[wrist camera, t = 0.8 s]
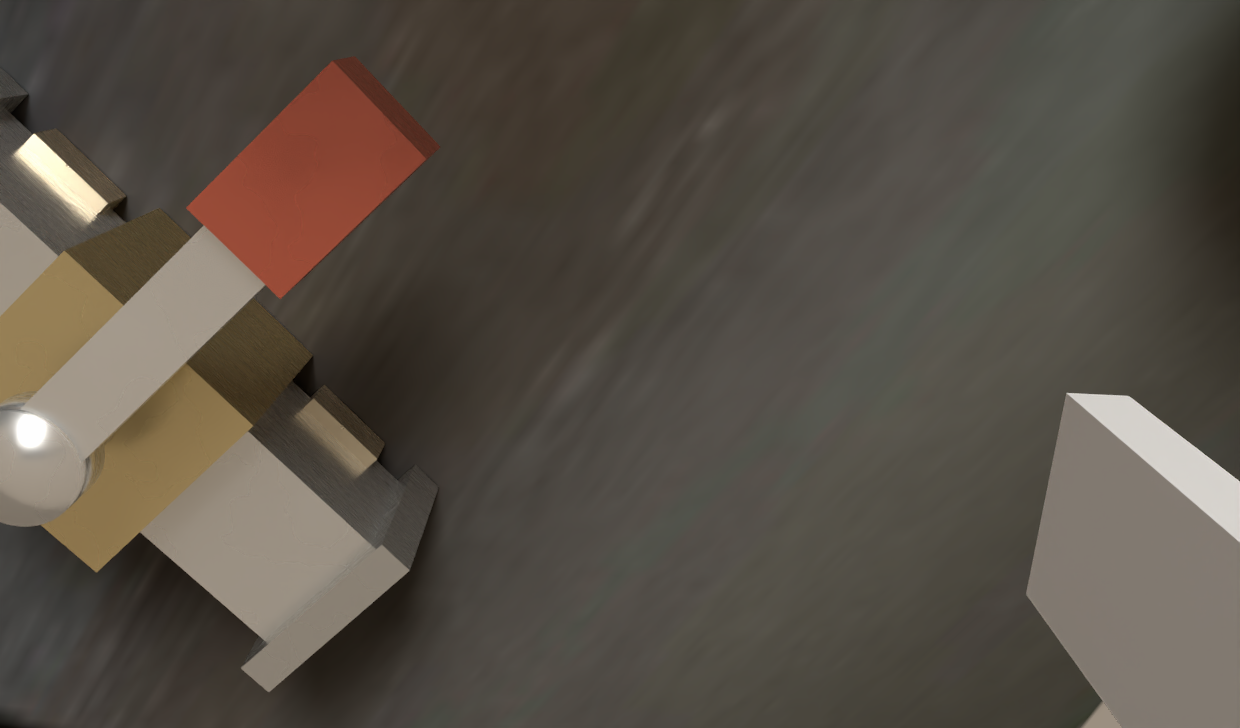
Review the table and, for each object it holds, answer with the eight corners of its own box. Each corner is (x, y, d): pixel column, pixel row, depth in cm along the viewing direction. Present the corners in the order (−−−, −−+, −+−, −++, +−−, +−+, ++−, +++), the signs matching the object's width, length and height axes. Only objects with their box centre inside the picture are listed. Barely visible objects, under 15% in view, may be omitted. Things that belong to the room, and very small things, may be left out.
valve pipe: (-129, 205, 38) (-338, 261, 29) (5, 59, 36) (-175, 74, 28) (312, 598, 42) (239, 744, 34) (444, 482, 41) (403, 603, 33)
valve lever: (60, 517, 32) (17, 556, 29) (-32, 437, 31) (-83, 472, 29) (443, 149, 29) (429, 161, 26) (351, 53, 28) (329, 57, 26)
